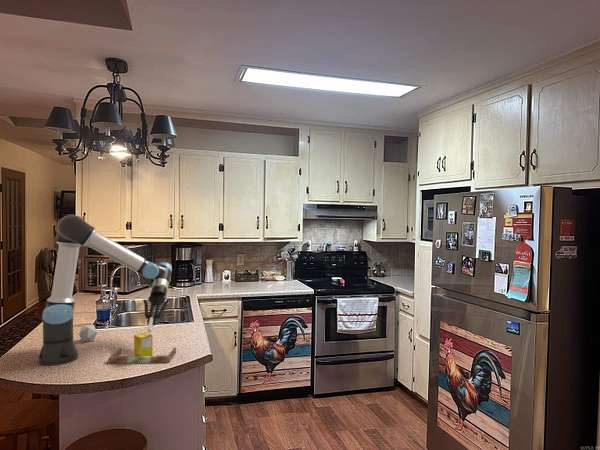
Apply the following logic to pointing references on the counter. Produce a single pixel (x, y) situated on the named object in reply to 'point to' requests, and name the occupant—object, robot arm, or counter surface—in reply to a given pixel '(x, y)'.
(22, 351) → the counter surface
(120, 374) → the counter surface
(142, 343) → the supplement box
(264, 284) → the counter surface
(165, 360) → the frame
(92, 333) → the die
